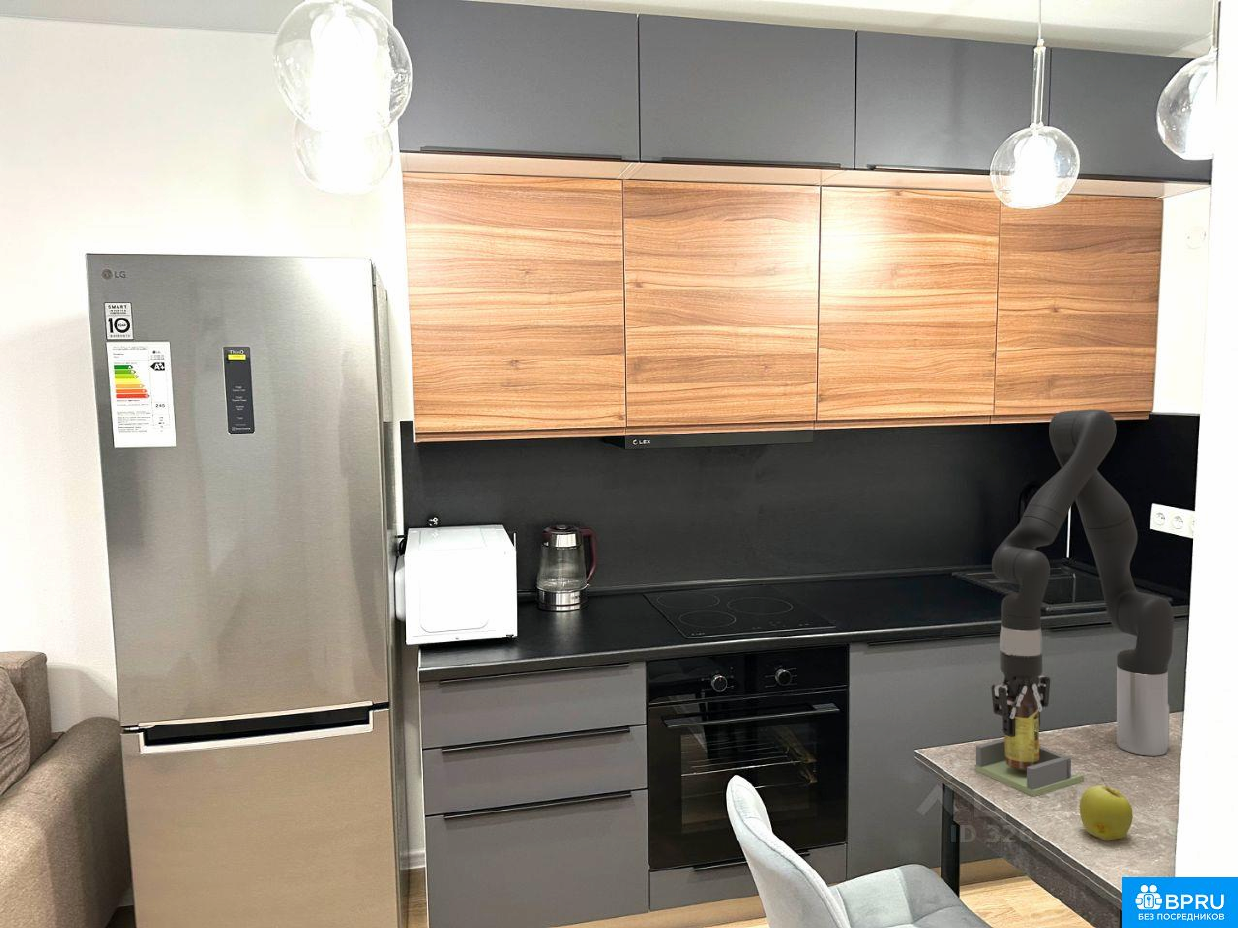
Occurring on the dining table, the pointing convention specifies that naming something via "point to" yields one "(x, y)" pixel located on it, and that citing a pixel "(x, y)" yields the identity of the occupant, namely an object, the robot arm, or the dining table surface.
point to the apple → (1105, 812)
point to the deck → (1036, 778)
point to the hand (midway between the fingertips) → (1021, 731)
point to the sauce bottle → (1024, 733)
